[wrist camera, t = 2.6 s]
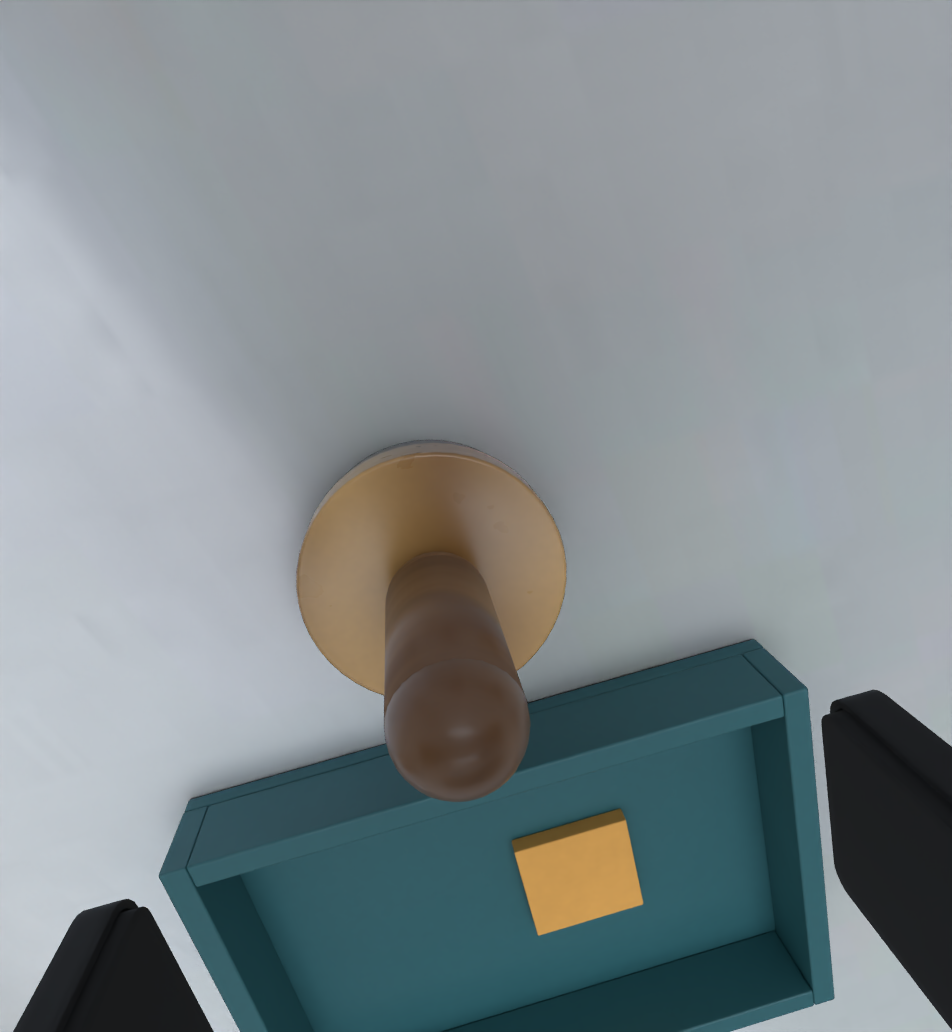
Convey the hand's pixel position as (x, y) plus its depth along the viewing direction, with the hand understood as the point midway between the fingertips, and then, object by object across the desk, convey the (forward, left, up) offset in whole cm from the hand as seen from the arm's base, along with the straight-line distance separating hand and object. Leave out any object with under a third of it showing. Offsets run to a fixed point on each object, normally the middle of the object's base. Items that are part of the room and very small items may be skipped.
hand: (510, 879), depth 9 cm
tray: (+6, -11, -12) cm, 17 cm away
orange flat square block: (+8, -10, -11) cm, 17 cm away
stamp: (0, 0, -12) cm, 12 cm away
